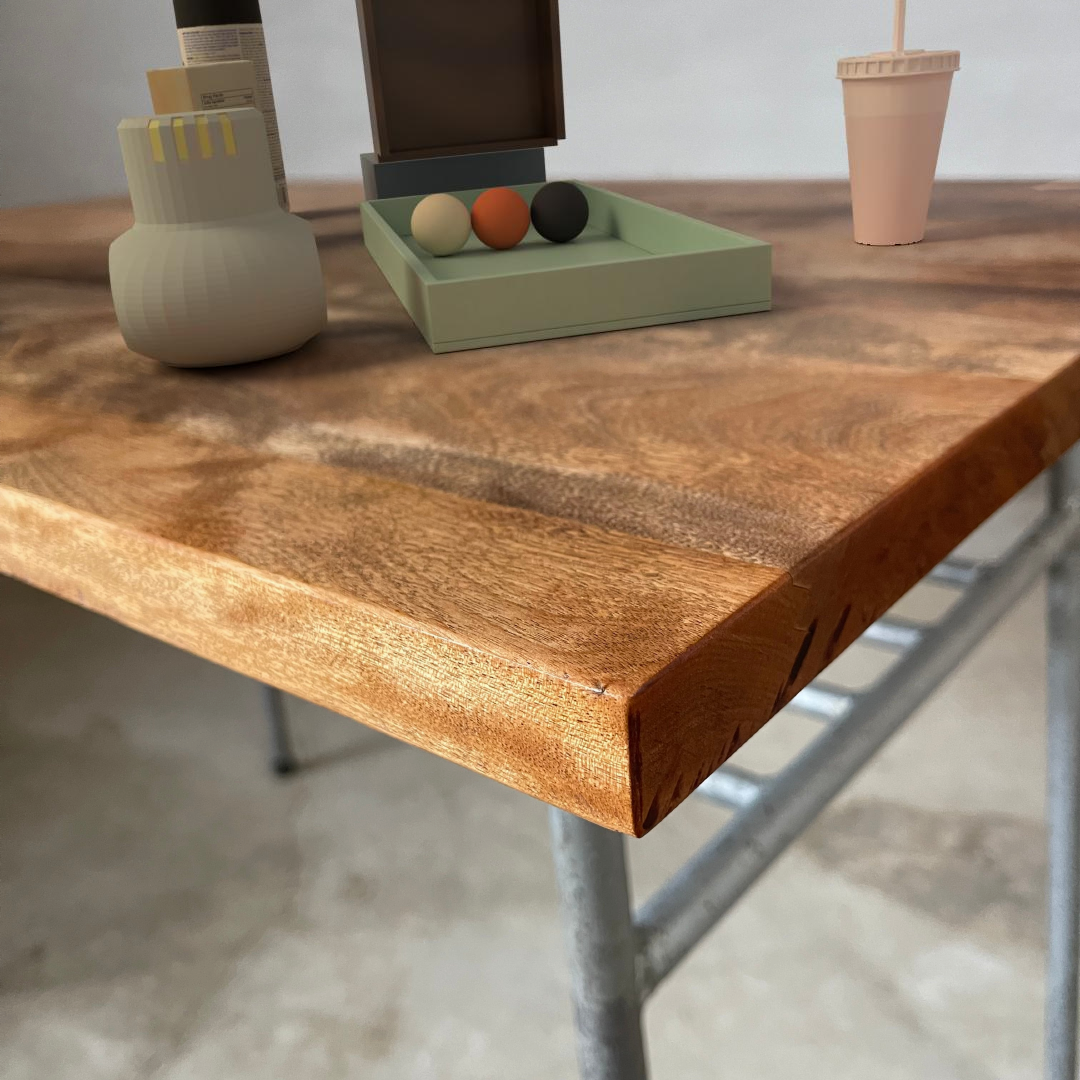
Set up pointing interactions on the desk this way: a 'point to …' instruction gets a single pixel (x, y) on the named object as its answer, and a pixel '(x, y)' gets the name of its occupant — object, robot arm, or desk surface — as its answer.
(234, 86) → the cosmetic box
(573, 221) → the ball charcoal
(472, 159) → the stand
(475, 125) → the wooden display box
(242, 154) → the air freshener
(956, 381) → the desk surface
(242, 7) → the spray can
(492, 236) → the ball terracotta
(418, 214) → the ball cream
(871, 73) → the smoothie
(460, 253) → the tray
